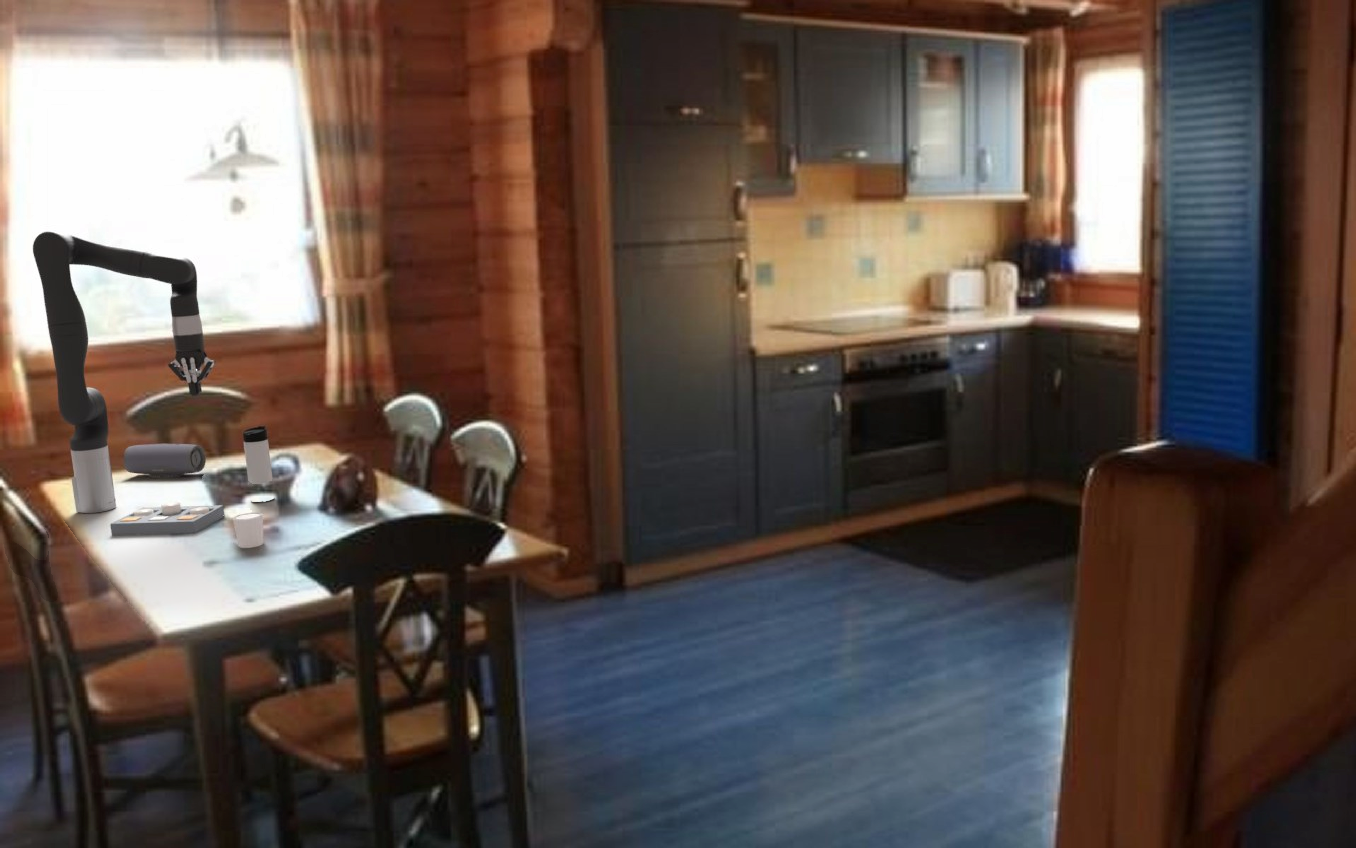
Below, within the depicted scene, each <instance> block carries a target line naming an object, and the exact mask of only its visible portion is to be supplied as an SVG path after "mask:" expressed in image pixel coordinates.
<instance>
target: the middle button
mask: <svg viewBox="0 0 1356 848" xmlns="http://www.w3.org/2000/svg"><path fill="white" fill-rule="evenodd" d="M160 507H161V510H162V515H177V514H179V513H181V507H182V505H181V503H180V502H168V503H164V504H161V505H160Z"/></svg>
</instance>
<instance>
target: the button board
mask: <svg viewBox="0 0 1356 848" xmlns="http://www.w3.org/2000/svg"><path fill="white" fill-rule="evenodd" d="M199 507H208V508H209V512H207V513H206V514H190V510H191V509H194V508H199ZM143 509H153V511H154V513H153V514H151V515H149V516H134V512H135V511H133V512H132V513H129V514H127V515H125V516H123V517H121V518H118V519H117V520H116V521H113V522H111V523H110V524H109V526H110V532H111V536H136V535H135V534H144V535H171V534H172V535H173V534H175V535H177V534H196V533H198V532H200V531H201V530H203V529H205V528H207V527H208V526H210V525H212V524H214V523H216V522H217V521H220V520H221V519H223V518H224V517H223V515H224V516H225V510H224V505H223V504H221V505H219V504H218V505H217V504H215V505H189V506H181V513H179V514H177V515H162V510H161V506H158V507H157V506H155V507H154V506H153V507H151V506H150V507H142V508H140V509H137V510H136V511H138V510H143Z"/></svg>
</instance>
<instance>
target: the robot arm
mask: <svg viewBox="0 0 1356 848" xmlns="http://www.w3.org/2000/svg"><path fill="white" fill-rule="evenodd" d="M32 254H33V257H34V261H35V264H36V268H37V270H38V274H39V277H40V282H41V285H42V287H41V288H42V291H43V302H44V308H45V314H46V321H47V330H48V335H49V339H50V344H51V351H52V355H53V356H52V357H53V363H54V367H55V373H56V375H55V376H56V384H57V385H56V386H57V403H58V410H59V414H60V415H61V417H62V419H63V420H64V421H65V422H66V423H67V424H69V425H72V426H74V431H73V434H72V436H71V437H70V439H69V449H70V455H71V460H72V461H71V463H72V468H73V475H74V476H73V477H71V485H72V491H73V492H72V493H73V500H74V505H75V506H74V507H75V512H76V513H82V514H93V513H101V512H106V511H110V510H113V509H115V508H116V507H117V502H116V495H115V494H116V493H115V487H114V481H113V474H112V467H111V458H110V453H109V446H108V437H109V432H110V431H109V429H110V428H109V419H108V418H109V417H108V409H107V403H106V400H105V397H104V395H103V394H102V393H101V392H100V391H99V390H98V389H96V388H94V387H88V386H87V383H86V378H85V364H86V358H87V352H88V349H89V334H88V333H89V332H88V327H87V326H88V325H87V320H86V315H85V312H84V310H83V306H82V304H81V302H80V300H79V298H78V295H77V294H76V290H75V289H74V286H73V282H72V277H71V276H72V275H71V267H70V265H75V266H77V265H79V266H80V265H81V266H90V267H97V268H99V269H100V268H101V269H104V270H107V271H111V272H114V273H117V274H122V275H126V276H130V277H137V278H143V279H150V280H154V281H158V282H162V283H165V284H168V285H170V286H171V296H170V298H169V301H170V302H169V304H170V312H171V313H170V314H171V327H172V336H173V343H174V350H175V356H174V358H175V359H174V360H173V361H171V362H170V363H168V365H167V366H168V367H169V369H170V370H171V371H172V372H173V374H175V375H176V376H177V377H178V379H179V380H180V381H181V382H183V381H184V382H187V384H188V392H189V394H190V395H191V397H199V396H201V394H202V383H201V382H202V381H203V380H206V379H207V378H208V376H209V375H210V373H211V371H212V370H213V368H214V367H215V365H216V360H215V359H210V358H209V357H208V355H207V353H206V351H205V339H204V332H203V325H202V319H201V315H200V307H199V302H198V301H199V300H198V274H197V269H196V266H195V264H194V262H192V261H191V259H189V258H186V257H176V258H175V257H169V256H163V255H158V254H157V255H156V253H152V252H149V251H144V250H138V249H133V248H126V247H121V246H116V245H115V246H113V245H107V244H102V243H97V242H93V241H89V240H86V239H83V238H79V237H77V236H74V235H72V234H69V233H67V232H64V231H61V230H49V231H43V232H41V233H40V234H38V235H37V236H36V237H35V239H34V240H33V244H32ZM203 366H204V367H203ZM202 368H203V369H202Z"/></svg>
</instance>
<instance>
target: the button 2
mask: <svg viewBox="0 0 1356 848" xmlns="http://www.w3.org/2000/svg"><path fill="white" fill-rule="evenodd" d="M207 512H209V508H208V507H199V508H194V509H191V510H190V514H206V513H207Z"/></svg>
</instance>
